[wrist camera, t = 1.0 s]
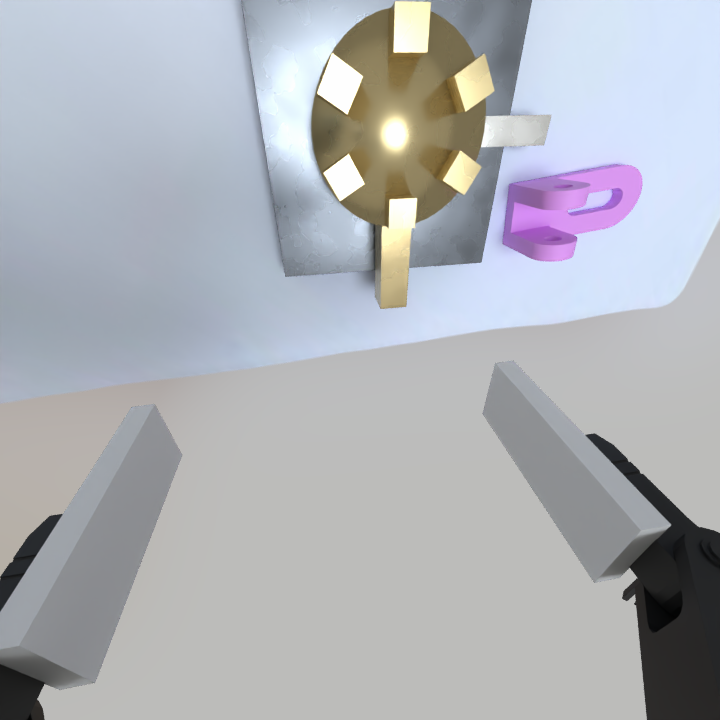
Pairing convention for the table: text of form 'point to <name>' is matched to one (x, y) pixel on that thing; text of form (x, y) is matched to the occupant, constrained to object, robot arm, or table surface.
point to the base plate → (294, 142)
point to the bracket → (566, 209)
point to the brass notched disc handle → (399, 127)
